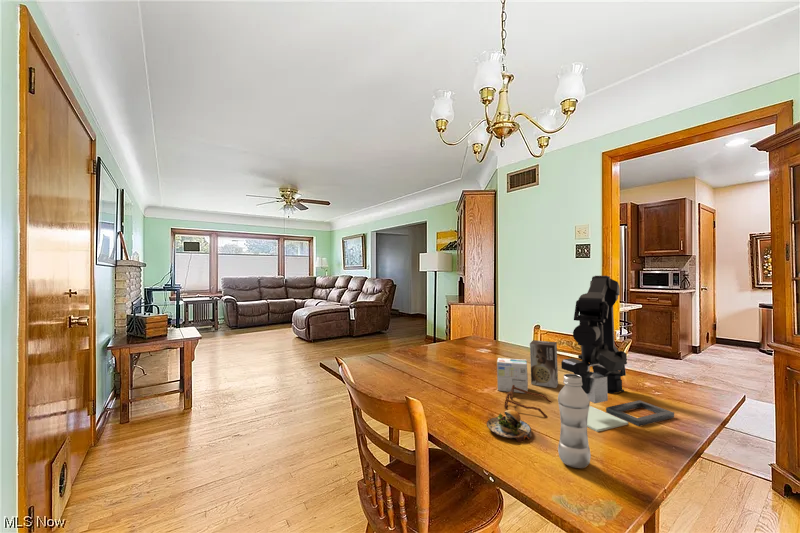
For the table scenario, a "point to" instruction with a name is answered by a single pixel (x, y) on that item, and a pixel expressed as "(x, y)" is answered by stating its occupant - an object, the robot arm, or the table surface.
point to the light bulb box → (512, 374)
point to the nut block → (597, 388)
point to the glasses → (521, 404)
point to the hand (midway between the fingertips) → (593, 392)
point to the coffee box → (544, 363)
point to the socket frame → (659, 416)
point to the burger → (510, 426)
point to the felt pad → (602, 420)
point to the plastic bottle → (573, 423)
